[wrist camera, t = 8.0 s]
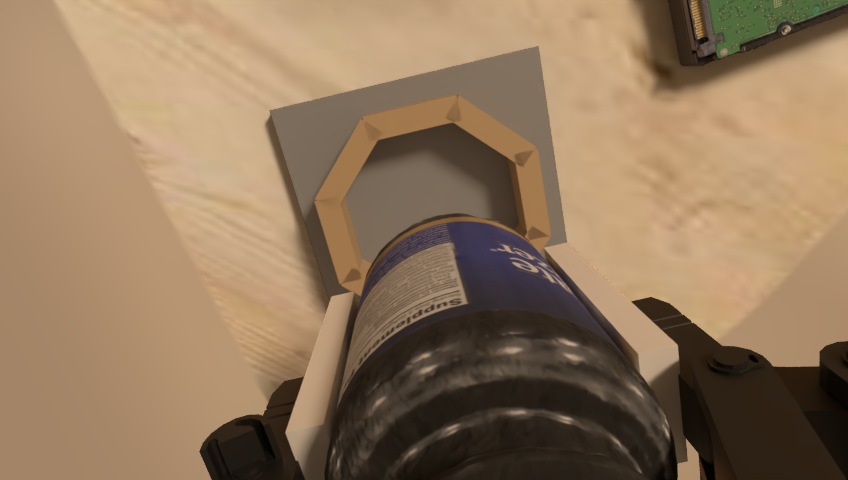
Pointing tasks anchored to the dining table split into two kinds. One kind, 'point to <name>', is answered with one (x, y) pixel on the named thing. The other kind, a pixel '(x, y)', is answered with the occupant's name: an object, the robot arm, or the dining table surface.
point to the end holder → (422, 160)
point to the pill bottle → (487, 370)
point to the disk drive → (741, 24)
